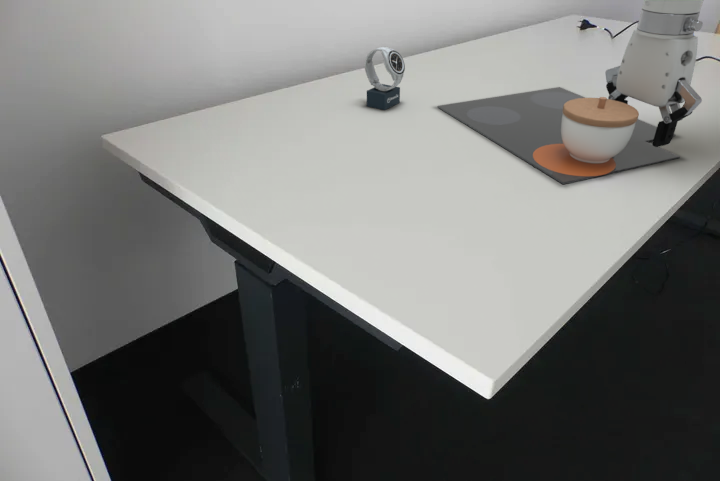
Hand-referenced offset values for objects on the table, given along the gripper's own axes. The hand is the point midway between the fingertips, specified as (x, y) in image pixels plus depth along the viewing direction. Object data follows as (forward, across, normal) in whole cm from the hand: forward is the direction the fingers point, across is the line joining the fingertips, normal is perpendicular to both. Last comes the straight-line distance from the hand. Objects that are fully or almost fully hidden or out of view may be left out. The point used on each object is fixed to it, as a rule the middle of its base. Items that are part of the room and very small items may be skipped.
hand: (636, 134), depth 88 cm
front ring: (+2, 0, +12) cm, 13 cm away
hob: (+2, +12, +4) cm, 13 cm away
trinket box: (+2, 0, +9) cm, 9 cm away
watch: (+2, +37, +28) cm, 47 cm away
